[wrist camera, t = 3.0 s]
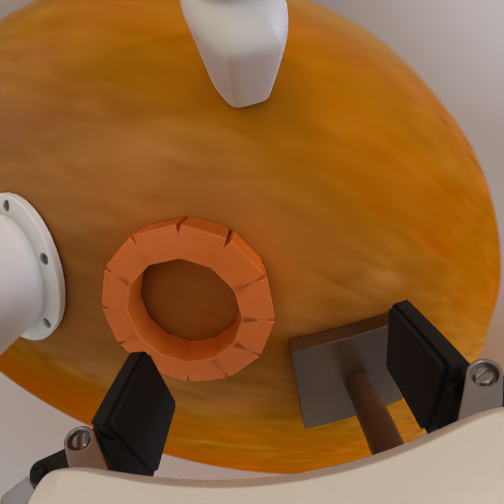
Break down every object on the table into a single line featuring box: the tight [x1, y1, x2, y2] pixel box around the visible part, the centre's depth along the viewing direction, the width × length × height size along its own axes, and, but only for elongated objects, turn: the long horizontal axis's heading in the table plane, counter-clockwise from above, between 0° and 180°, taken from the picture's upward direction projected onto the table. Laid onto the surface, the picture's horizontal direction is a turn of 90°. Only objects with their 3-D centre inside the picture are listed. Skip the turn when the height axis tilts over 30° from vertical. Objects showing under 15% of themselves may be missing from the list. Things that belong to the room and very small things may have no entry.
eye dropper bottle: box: [180, 0, 288, 108], centre depth 7 cm, size 4×6×12 cm
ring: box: [102, 216, 275, 382], centre depth 16 cm, size 10×10×2 cm
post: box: [288, 313, 404, 455], centre depth 14 cm, size 9×9×10 cm
